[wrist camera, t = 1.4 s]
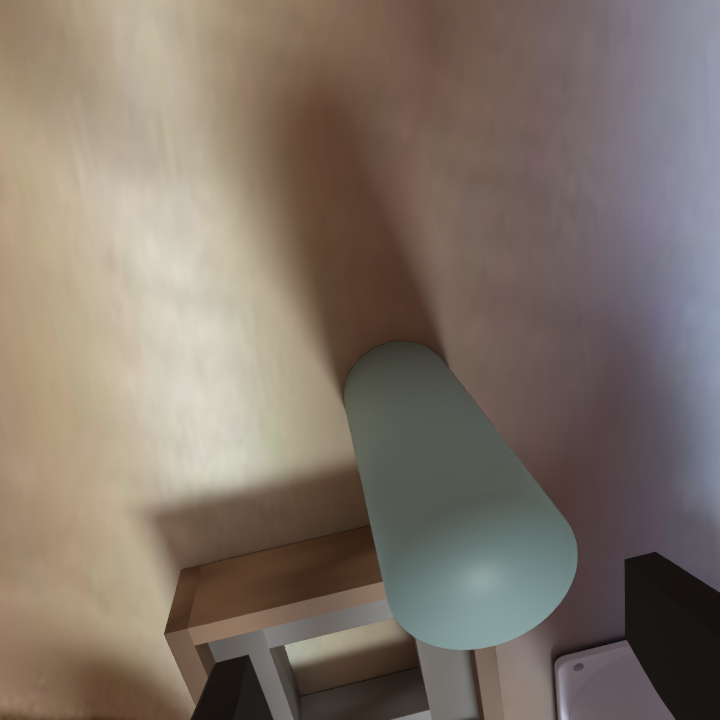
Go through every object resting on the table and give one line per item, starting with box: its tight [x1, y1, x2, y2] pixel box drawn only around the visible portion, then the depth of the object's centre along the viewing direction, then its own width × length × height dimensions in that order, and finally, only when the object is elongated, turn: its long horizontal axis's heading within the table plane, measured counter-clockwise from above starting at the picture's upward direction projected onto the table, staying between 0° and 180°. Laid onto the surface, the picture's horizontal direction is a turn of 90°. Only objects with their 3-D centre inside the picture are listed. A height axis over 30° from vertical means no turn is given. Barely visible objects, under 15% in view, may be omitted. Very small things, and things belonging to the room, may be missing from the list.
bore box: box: [164, 526, 504, 720], centre depth 21 cm, size 11×11×3 cm
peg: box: [344, 341, 578, 650], centre depth 15 cm, size 4×4×9 cm
